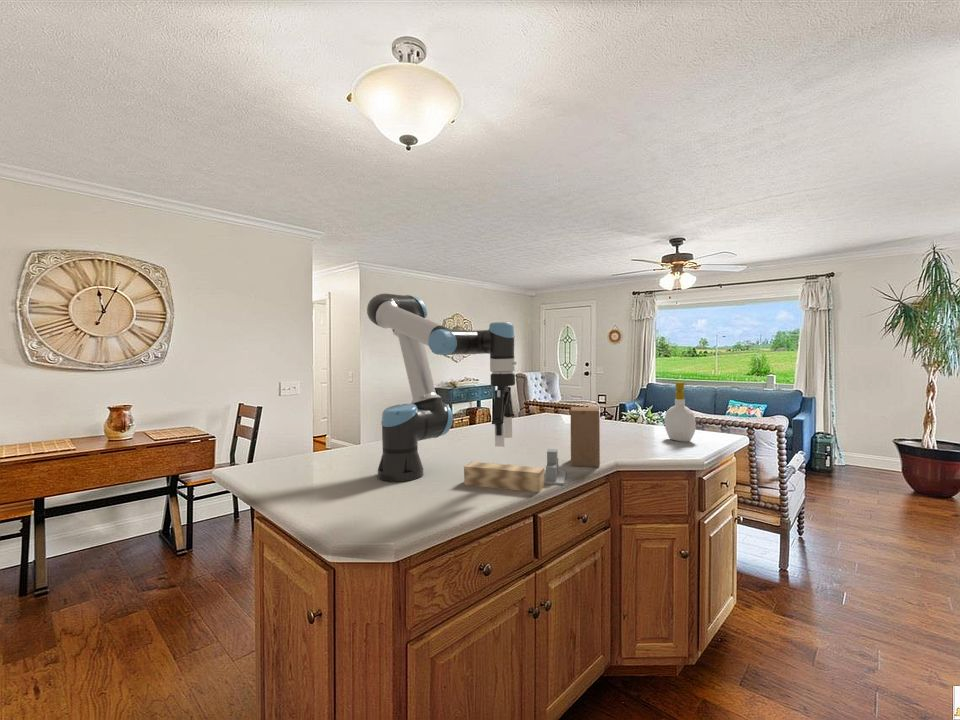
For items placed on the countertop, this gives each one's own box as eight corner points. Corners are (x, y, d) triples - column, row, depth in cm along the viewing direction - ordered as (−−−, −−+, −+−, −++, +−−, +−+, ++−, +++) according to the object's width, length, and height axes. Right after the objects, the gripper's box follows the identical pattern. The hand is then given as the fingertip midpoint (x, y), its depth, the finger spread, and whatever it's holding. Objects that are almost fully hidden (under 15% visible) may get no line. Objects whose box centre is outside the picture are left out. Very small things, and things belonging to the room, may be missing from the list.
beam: (464, 485, 143) (464, 466, 143) (471, 480, 149) (471, 461, 148) (539, 493, 135) (539, 472, 134) (544, 487, 140) (544, 467, 140)
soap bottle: (701, 441, 201) (701, 382, 200) (689, 444, 196) (689, 383, 196) (672, 436, 213) (672, 380, 213) (660, 438, 209) (660, 381, 208)
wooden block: (599, 467, 161) (599, 410, 160) (570, 466, 163) (570, 410, 162) (598, 460, 171) (598, 407, 170) (571, 459, 173) (570, 406, 172)
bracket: (537, 483, 143) (537, 454, 143) (542, 471, 157) (542, 445, 156) (563, 484, 141) (563, 455, 141) (566, 472, 155) (565, 446, 155)
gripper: (507, 374, 128) (509, 450, 128) (520, 370, 152) (522, 434, 152) (481, 375, 129) (482, 450, 130) (498, 371, 154) (500, 434, 154)
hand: (504, 441), depth 141 cm, fingers open, 13 cm apart
